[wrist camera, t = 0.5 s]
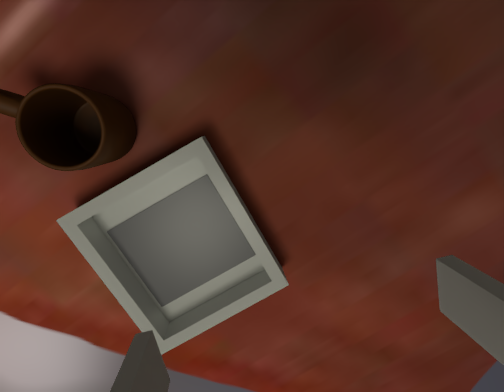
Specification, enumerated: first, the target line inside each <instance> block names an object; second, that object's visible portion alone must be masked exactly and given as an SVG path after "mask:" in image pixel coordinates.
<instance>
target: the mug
mask: <svg viewBox="0 0 504 392" xmlns="http://www.w3.org/2000/svg"><path fill="white" fill-rule="evenodd" d="M0 113H1V114H4V115H8V116H11V117H14V118H16V130H17V134H18V137H19V140H20V142H21V144H22V145H23V147H24V148H25V150H26V151H27V152H28V153H29V154H30V155H31V156H32V157H33V158H34V159H35V160H37V161H38V162H39V163H41V164H43V165H45V166H47V167H49V168H52V169H55V170H61V171H74V170H83V169H87V168H92V167H95V166H99V165H102V164H106V163H109V162H112V161H115V160H118V159H120V158H122V157H123V156H124V155H126V154H127V153H128V152H129V150H130V149H131V148H132V146H133V144H134V142H135V138H136V125H135V121H134V119H133V116H132V115H131V113H130V111H129V110H128V109H127V108H126V107H125V106H124V105H123V104H122V103H121V102H120V101H118V100H117V99H115V98H113V97H110V96H108V95H105V94H101V93H98V92H95V91H92V90H88V89H85V88H82V87H78V86H73V85H65V84H56V83H55V84H46V85H42V86H39V87H37V88H35V89H33V90H32V91H30V92H29V93H28V94H27V95H26V96H22V95H19V94H16V93H13V92H9V91H6V90H2V89H0Z"/></svg>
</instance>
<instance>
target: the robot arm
mask: <svg viewBox="0 0 504 392" xmlns="http://www.w3.org/2000/svg"><path fill="white" fill-rule="evenodd" d="M436 266H437V279H438V292H439V305H440V311H441V312H442V313H443V314H445V315H446V316H447V317H448V318H449V319H450V320H451V321H453V322H454V323H455V324H456V325H457V326H458V327H460V328H461V329H462V330H463V331H464V332H465V333H467V334H468V335H469V336H470V337H471V338H472V339H474V340H475V341H476V342H477V343H478V344H479V345H481V346H482V347H483V348H484V349H485V350H486V351H488V352H489V353H490V354H491V355H492V356H493V357H495V358H496V359H497V360H498V361H499V362H500V363H502V364H503V365H504V284H502V283H501V282H499V281H497V280H495V279H494V278H492V277H490V276H488V275H487V274H485V273H483V272H481V271H480V270H478V269H476V268H474V267H472V266H471V265H469V264H467V263H465V262H464V261H462V260H460V259H458V258H457V257H455V256H453V255H449V256H445V257H441V258H437V259H436ZM169 383H170V378H169V375H168V373H167V370H166V367H165V364H164V361H163V359H162V356H161V353H160V350H159V347H158V344H157V342H156V339H155V336H154V333H153V330H150V331H146V332H142V333H138V334H135V336H134V338H133V341H132V343H131V345H130V347H129V350H128V352H127V354H126V357H125V359H124V361H123V364H122V366H121V368H120V370H119V373H118V375H117V377H116V379H115V382H114V384H113V386H112V389H111V391H110V392H168V387H169Z"/></svg>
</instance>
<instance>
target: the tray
mask: <svg viewBox="0 0 504 392" xmlns="http://www.w3.org/2000/svg"><path fill="white" fill-rule="evenodd" d="M56 221H57V222H58V223H59V225H60V226H61V227H62V229H63V230H64V231H65V233H66V234H67V235H68V236H69V238H70V239H71V240H72V242H73V243H74V244H75V246H76V247H77V248H78V249H79V251H80V252H81V253H82V255H83V256H84V257H85V259H86V260H87V261H88V262H89V264H90V265H91V266H92V268H93V269H94V270H95V272H96V273H97V274H98V275H99V277H100V278H101V279H102V281H103V282H104V283H105V285H106V286H107V287H108V288H109V290H110V291H111V292H112V294H113V295H114V296H115V298H116V299H117V300H118V301H119V303H120V304H121V305H122V307H123V308H124V309H125V311H126V312H127V313H128V314H129V316H130V317H131V318H132V320H133V321H134V322H135V324H136V325H137V326H138V327H139V329H140V330H141V331H142V332H146V331H150V330H153V333H154V336H155V339H156V342H157V344H158V347H159V350H160V353H161V355H162V354H164V353H165V352H167V351H169V350H171V349H173V348H175V347H176V346H178V345H180V344H182V343H184V342H185V341H187V340H189V339H191V338H193V337H195V336H196V335H198V334H200V333H202V332H204V331H206V330H207V329H209V328H211V327H213V326H215V325H216V324H218V323H220V322H222V321H224V320H226V319H227V318H229V317H231V316H233V315H235V314H237V313H238V312H240V311H242V310H244V309H246V308H247V307H249V306H251V305H253V304H255V303H257V302H258V301H260V300H262V299H264V298H266V297H268V296H269V295H271V294H273V293H275V292H277V291H278V290H280V289H282V288H284V287H286V286H288V285H289V284H288V281H287V279H286V276H285V274H284V271H283V269H282V267H281V265H280V263H279V262H278V260H277V258H276V257H275V255H274V253H273V251H272V250H271V248H270V246H269V245H268V243H267V241H266V240H265V238H264V236H263V234H262V233H261V231H260V229H259V228H258V226H257V224H256V222H255V221H254V219H253V217H252V216H251V214H250V212H249V211H248V209H247V207H246V205H245V204H244V202H243V200H242V199H241V197H240V195H239V193H238V192H237V190H236V188H235V187H234V185H233V183H232V182H231V180H230V178H229V176H228V175H227V173H226V171H225V170H224V168H223V166H222V164H221V163H220V161H219V159H218V158H217V156H216V154H215V153H214V151H213V149H212V147H211V146H210V144H209V142H208V141H207V139H206V137H205V136H202V137H200V138H198V139H197V140H195V141H193V142H191V143H190V144H188V145H186V146H184V147H183V148H181V149H179V150H177V151H176V152H174V153H172V154H170V155H169V156H167V157H165V158H164V159H162V160H160V161H158V162H157V163H155V164H153V165H151V166H150V167H148V168H146V169H144V170H143V171H141V172H139V173H138V174H136V175H134V176H132V177H131V178H129V179H127V180H125V181H124V182H122V183H120V184H118V185H117V186H115V187H113V188H112V189H110V190H108V191H106V192H105V193H103V194H101V195H99V196H98V197H96V198H94V199H92V200H91V201H89V202H87V203H85V204H84V205H82V206H80V207H79V208H77V209H75V210H73V211H72V212H70V213H68V214H66V215H65V216H63V217H61V218H59V219H58V220H56Z"/></svg>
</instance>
